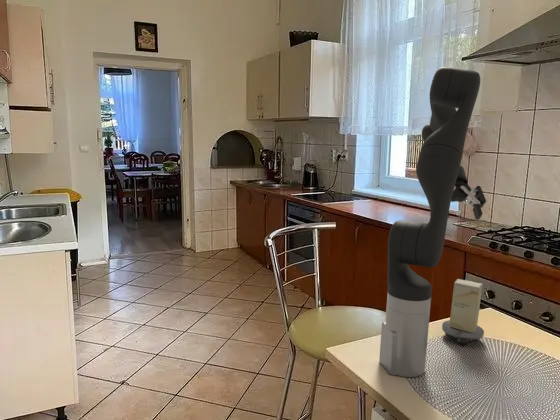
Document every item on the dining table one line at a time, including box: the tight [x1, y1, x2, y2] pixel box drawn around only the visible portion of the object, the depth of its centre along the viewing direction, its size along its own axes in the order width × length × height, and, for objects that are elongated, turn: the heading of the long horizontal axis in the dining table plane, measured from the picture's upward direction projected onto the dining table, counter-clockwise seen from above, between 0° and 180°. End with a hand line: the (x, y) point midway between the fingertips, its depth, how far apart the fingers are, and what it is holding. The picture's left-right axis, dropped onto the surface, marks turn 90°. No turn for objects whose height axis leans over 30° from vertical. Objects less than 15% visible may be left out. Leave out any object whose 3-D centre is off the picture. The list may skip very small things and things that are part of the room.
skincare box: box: [449, 278, 483, 333], centre depth 112 cm, size 6×4×12 cm
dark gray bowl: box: [441, 319, 485, 347], centre depth 113 cm, size 10×10×3 cm
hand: (462, 217), depth 118 cm, fingers open, 8 cm apart
